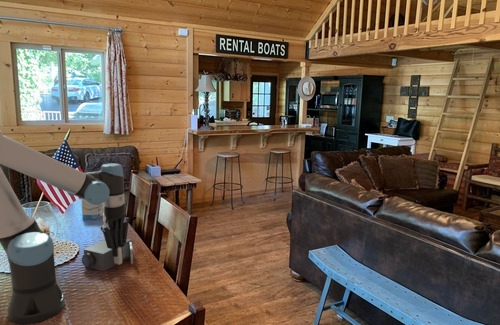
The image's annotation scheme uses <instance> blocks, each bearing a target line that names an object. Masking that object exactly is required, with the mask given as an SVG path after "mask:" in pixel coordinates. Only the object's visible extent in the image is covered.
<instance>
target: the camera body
mask: <svg viewBox="0 0 500 325" xmlns="http://www.w3.org/2000/svg"><path fill="white" fill-rule="evenodd" d="M130 241H132V249H133V250H134V248H133V247H134V246H133V243H134V242H133V239H132V238H129V237H127V240H126V243H124V244H123V245H125V246H124V247H122V250H123V253H122V262H123V261H125V260H127V259H130V255H129V242H130ZM81 263H82V264H83V266H84V268H89V269H90V268H92V269H95V270H99V271H102V272H105V271H107V270H109V269H110V268H112V267H114V266H115V265H117V264H115V263H114V256H113V253H112V249H110V248H108V247H107V244H106V241H105V239H103V240H101V241H99V242H97V243H95V244H92V245H90V246H88V247H86V248H84V249H83V255H82V256H81Z"/></svg>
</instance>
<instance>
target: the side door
mask: <svg viewBox="0 0 500 325" xmlns="http://www.w3.org/2000/svg"><path fill="white" fill-rule="evenodd" d="M132 241H133V240H132ZM132 241H130V242H129V255H130V257H129V260H130V264H131V265H133V264H134V248H133V249H132Z"/></svg>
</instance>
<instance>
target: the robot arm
mask: <svg viewBox="0 0 500 325" xmlns="http://www.w3.org/2000/svg"><path fill="white" fill-rule="evenodd" d="M0 165H2V166H5V167H7V168H9V169H12V170H13V171H17V172H19V173H21V174H24V175H25V176H28V177H30V178H33V179H36V180H38V181H41V182H42V183H45V184H47V185H50V186H52V187H54V188H56V189H59V190H62V191H64V192H66V193H67V194H68V196H71V197H73V196H75V197H78V198H81V199H85V200H86V201H87V202H89V203H91V204H94V205H99V204H102V203H104V205H105V206H104V215H105V216H106V221H105V223H106V224H105V225H104V224H103V226H100V227H99V228H100V231H102V234H103V236H104V240H105V241H106V244H107V247H108V248H110V249H112V253H113V256H114V263H115V264H116V265H122V264H123V261H122V253H123V250H122V247H124V246H125V245H123V244H124V243H126V240H127V238H128V229H129V223H130V220H131V218H130V217H126V215H125V214H126V204H125V203H126V201H125V187H124V186H125V185H124V184H125V183H124V180H125V179H124V178H125V175H124V170H123V166H122V165H121V164H120V163H116V162H115V163H111V162H110V163H103V164H102V165H101V166H100V170H97V171H89V172H88V171H87V172H83V171H81V170H78V169H76V168H74V167H73V166H70V165H67V164H66V163H64V162H61V161H59V160H57V159H55V158H52V157H50V156H48V155H47V154H45V153H43V152H40V151H38V150H36V149H34V148H32V147H31V146H27V145H25V144H23V143H21V142H19V141H17V140H15V139H12V138H10V137H8V136H6V135H4V134H3V132H2V129H0ZM0 246H1V247H2V248H3V250H4V252H5V253H6V254H5V255H6V257H7V262H8V265H9V271H10V278H11V286H12V287H11V288H12V289H11V290H12V293H11V297H10V301H9V306H8V308H7V315H8V321H10V322H11V323H13V324H18V325H28V324H35V323H39V322H42V321H45V320H48V319H50V318H52V317H53V316H55V315H57V314H59V312H61V311H62V309H63V308H64V307H65V297H64V293H63V292H62V290H61V288H60V286H59V284H58V283H57V275H56V264H55V253H54V251H55V250H54V249H55V247H54V246H55V245H54V242H53V238H52V237H51V236H50V234H48V233H45V232H44V231H42V229H41V228H40V226H39V224H38V222H37V221H36V219H35V217H34V216H30V215H27V213H26V210H24V207H23V206H22V204H21V202H20V200H19V198H18V196H17V195H16V193H15V191H14V189H13V188H12V186H11V184H10V182H9V180H8V178H7V177H6V174H5V173H4V170H3V168H2V167H1V166H0Z"/></svg>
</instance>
